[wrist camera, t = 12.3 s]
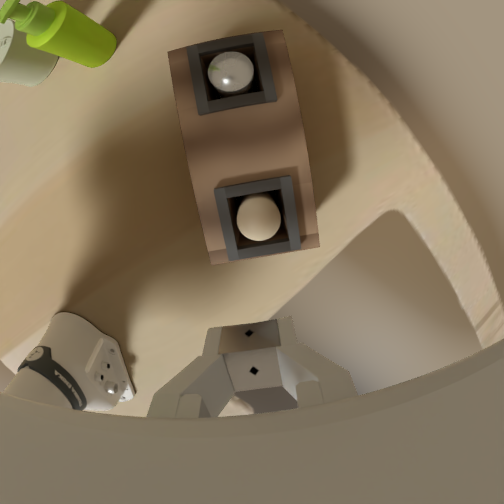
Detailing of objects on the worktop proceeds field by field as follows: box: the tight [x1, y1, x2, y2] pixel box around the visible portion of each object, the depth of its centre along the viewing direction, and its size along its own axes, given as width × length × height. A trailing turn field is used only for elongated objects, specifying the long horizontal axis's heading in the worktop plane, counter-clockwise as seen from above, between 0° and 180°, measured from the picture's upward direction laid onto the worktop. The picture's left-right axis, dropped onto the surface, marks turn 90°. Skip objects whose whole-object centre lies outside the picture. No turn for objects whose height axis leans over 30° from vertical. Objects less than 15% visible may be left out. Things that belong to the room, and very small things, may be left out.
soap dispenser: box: [0, 0, 117, 68], centre depth 18 cm, size 6×7×20 cm
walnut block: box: [168, 30, 320, 265], centre depth 28 cm, size 22×11×10 cm, turn 10°
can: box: [0, 19, 59, 87], centre depth 21 cm, size 9×9×12 cm
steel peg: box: [208, 52, 254, 98], centre depth 25 cm, size 4×4×8 cm
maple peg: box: [237, 191, 281, 241], centre depth 30 cm, size 4×4×8 cm
